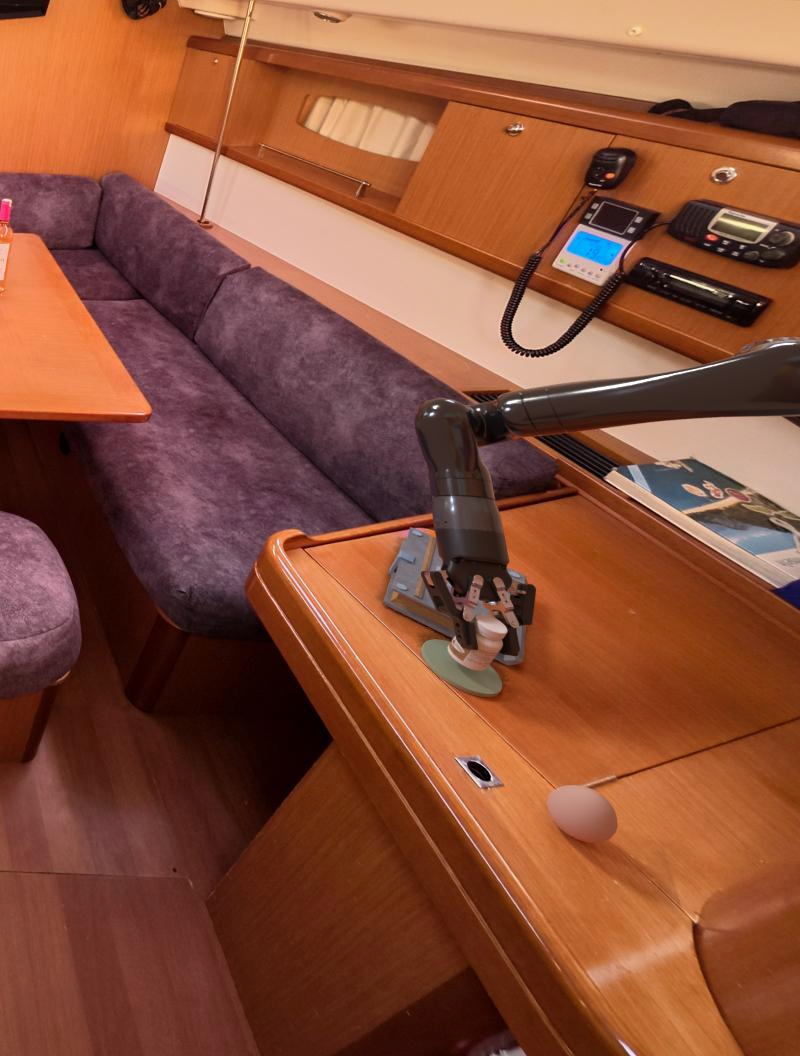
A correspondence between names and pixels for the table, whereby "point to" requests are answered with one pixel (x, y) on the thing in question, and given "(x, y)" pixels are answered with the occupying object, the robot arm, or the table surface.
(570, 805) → the egg
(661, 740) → the table surface
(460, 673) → the coaster
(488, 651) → the pill bottle
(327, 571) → the table surface
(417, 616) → the book
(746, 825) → the table surface
